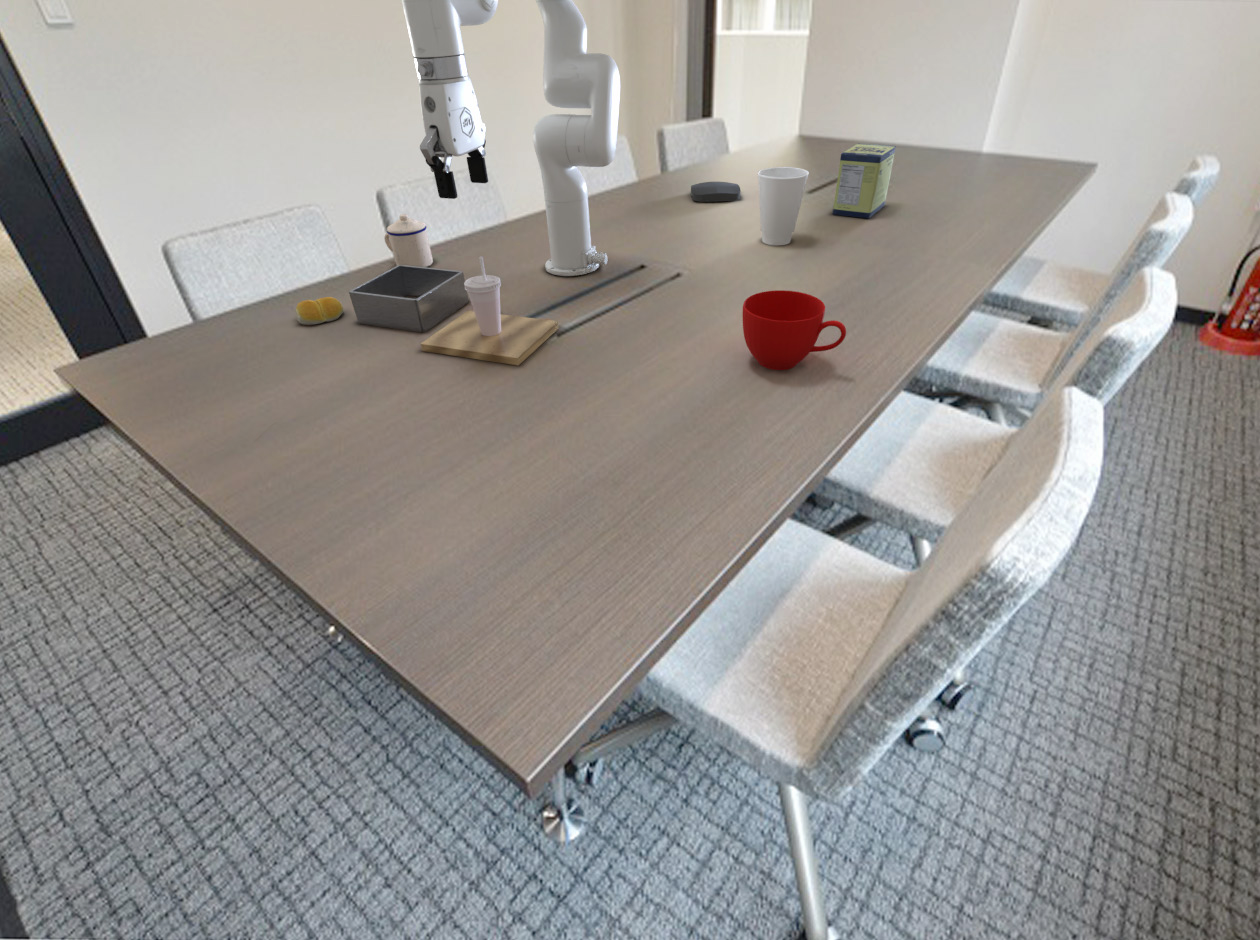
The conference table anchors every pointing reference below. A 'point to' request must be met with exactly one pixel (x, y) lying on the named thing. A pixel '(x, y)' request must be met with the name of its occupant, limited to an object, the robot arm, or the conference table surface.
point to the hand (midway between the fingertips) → (464, 190)
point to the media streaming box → (715, 191)
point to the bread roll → (318, 310)
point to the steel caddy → (389, 309)
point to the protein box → (863, 180)
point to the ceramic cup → (785, 327)
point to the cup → (780, 202)
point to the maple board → (491, 338)
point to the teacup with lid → (409, 242)
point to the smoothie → (485, 301)
